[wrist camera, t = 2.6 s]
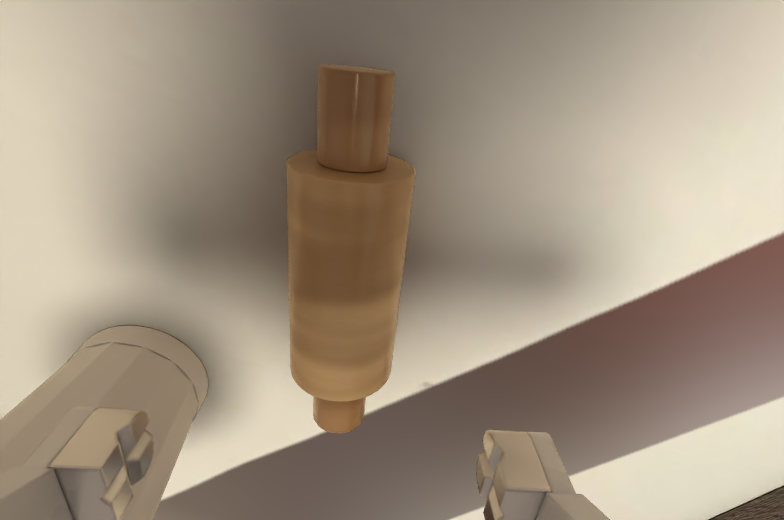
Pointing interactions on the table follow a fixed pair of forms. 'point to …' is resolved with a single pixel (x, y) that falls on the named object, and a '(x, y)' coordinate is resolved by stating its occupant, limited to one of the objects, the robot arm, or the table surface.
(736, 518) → the picture frame
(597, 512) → the robot arm
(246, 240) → the table surface
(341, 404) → the rolling pin
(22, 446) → the cup
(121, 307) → the table surface
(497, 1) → the table surface
